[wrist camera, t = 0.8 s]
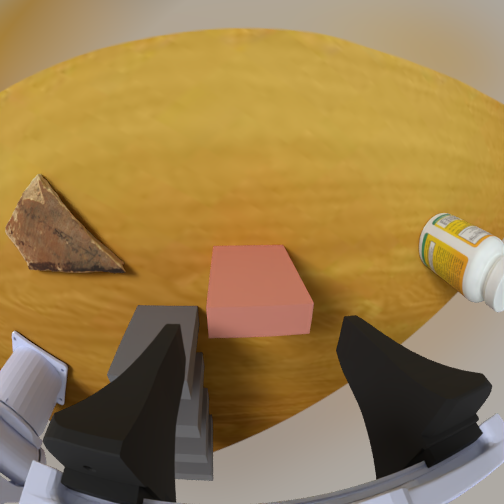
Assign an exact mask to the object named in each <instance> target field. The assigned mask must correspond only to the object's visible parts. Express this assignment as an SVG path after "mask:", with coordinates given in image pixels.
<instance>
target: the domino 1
mask: <svg viewBox="0 0 504 504" xmlns="http://www.w3.org/2000/svg"><path fill="white" fill-rule="evenodd" d="M166 324H180V326H181V332H182V338H183V344H184V350H185V356H186V367H185V379H184V385H183V390H182V395H181V399H190V400H191V395H192V385H193V375H194V365H195V356H196V347H197V339H198V331H199V317H198V307H197V306H144V305H138V306H137V308H136V310H135V313H134V315H133V317H132V319H131V321H130V323H129V325H128V328H127V330H126V332H125V334H124V336H123V339H122V341H121V343H120V345H119V348H118V350H117V352H116V354H115V357H114V359H113V362H112V364H111V366H110V369H109V371H108V374H107V375H108V378H109V380H110V382H112V381H113V380H115V379H116V378H117V377H118V376H120V375H121V374H122V373H123V372H124V371H125V370H126V369H127V368H128V367H129V366H130V365H131V364H132V363H133V362H134V361H135V360H136V359H137V358H138V357H139V356H140V355H141V354H142V353H143V351H144V350H145V349H146V348H147V347H148V346H149V344H150V343H151V342H152V341H153V340H154V338H155V337H156V336H157V335H158V333H159V332H160V331H161V329H162V328H163V327H164V326H165V325H166Z"/></svg>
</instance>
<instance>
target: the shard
mask: <svg viewBox="0 0 504 504" xmlns="http://www.w3.org/2000/svg"><path fill="white" fill-rule="evenodd" d="M6 234H7V235H8V237H9V238H10V239H11V241H12V242H13V243H14V245H15V246H16V247H17V248H18V250H19V251H20V253H21V255H22V256H23V257H24V259H25V261H26V262H27V264H28V267H29V269H31V270H40V271H46V270H51V271H60V272H74V273H77V272H80V273H83V272H96V271H97V272H101V271H103V272H110V273H126V271H125V270H124V267H123V264H124V262H123V261H122V260H120V259H119V258H118V257H117V256H116V255H115V254H113V252H112V251H110V250H109V249H108V248H107V247H106V246H104V245H103V244H102V243H101V242H100V241H98V240H97V239H96V238H95V237H94V236H93V235H92V234H91V233H90V232H89V231H88V230H87V229H86V228H85V227H84V226H83V225H82V224H81V223H80V222H79V221H78V220H77V219H76V218H75V217H74V216H73V215H72V213H71V212H70V211H69V210H68V209H67V207H66V206H65V205H64V204H63V202H62V201H61V200H60V198H59V196H58V195H57V194H56V192H54V191H53V189H52V188H51V186H50V185H49V183H48V182H47V180H46V179H44V178H43V177H42V175H41V174H37V176H36V177H35V178H34V179H33V180H32V182H31V183H30V185H29V186H28V188H27V189H26V190H25V191H24V192H23V194H22V197H21V198H20V200H19V202H18V204H17V207H16V208H15V210H14V212H13V214H12V217H11V219H10V220H9V222H8V223H7V225H6Z"/></svg>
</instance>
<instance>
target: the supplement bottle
mask: <svg viewBox="0 0 504 504" xmlns="http://www.w3.org/2000/svg"><path fill="white" fill-rule="evenodd" d="M419 254H420V258H421V260H422V262H423V263H424V264H425V265H426V266H427V267H428V268H429V269H431V270H432V271H433V272H435V273H436V274H437V275H438V276H440V277H441V278H442V279H443V280H445V281H446V282H447V283H449V284H450V285H451V286H452V287H453V288H455V289H456V290H457V291H458V292H460V293H461V294H462V295H463V296H464V297H466V298H467V299H468V300H469V301H471V302H482V301H485V303H486V305H488V306H489V307H491V308H492V309H493V310H494V311H496V312H501V311H503V310H504V244H503V242H502V241H501V240H500V239H499V238H497V237H495V236H494V235H492V234H490V233H488V232H486V231H484V230H482V229H480V228H478V227H476V226H474V225H472V224H470V223H468V222H466V221H464V220H462V219H460V218H458V217H455V216H453V215H451V214H448V213H440V214H437V215H435V216H434V217H432V218H431V219H430V220H429V221H428V222H427V224H426V225H425V227H424V229H423V231H422V233H421V236H420V242H419Z"/></svg>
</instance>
